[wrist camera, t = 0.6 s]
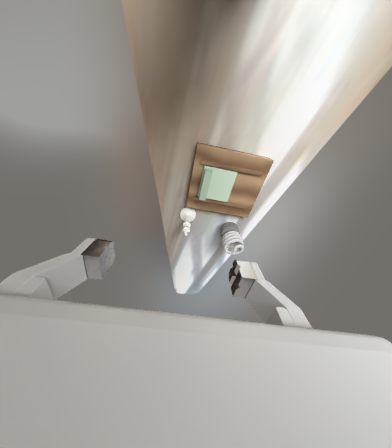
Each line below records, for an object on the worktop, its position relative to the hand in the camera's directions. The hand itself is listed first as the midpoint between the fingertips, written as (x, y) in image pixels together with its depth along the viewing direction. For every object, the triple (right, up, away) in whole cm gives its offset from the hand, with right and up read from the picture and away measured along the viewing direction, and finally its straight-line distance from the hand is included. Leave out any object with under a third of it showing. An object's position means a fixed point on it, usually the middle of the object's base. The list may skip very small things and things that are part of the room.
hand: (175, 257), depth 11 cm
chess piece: (-1, +5, +38) cm, 38 cm away
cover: (+7, +12, +29) cm, 32 cm away
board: (+9, +13, +31) cm, 35 cm away
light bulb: (+12, +2, +39) cm, 41 cm away
